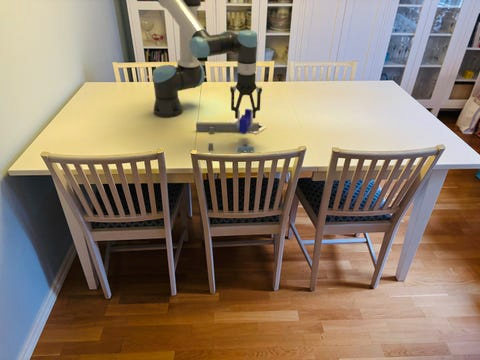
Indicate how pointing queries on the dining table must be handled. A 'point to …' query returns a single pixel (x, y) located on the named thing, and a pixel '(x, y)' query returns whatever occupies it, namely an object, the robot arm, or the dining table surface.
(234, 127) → the gray assembly fixture
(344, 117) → the dining table surface
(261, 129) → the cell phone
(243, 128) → the blue angled bracket
